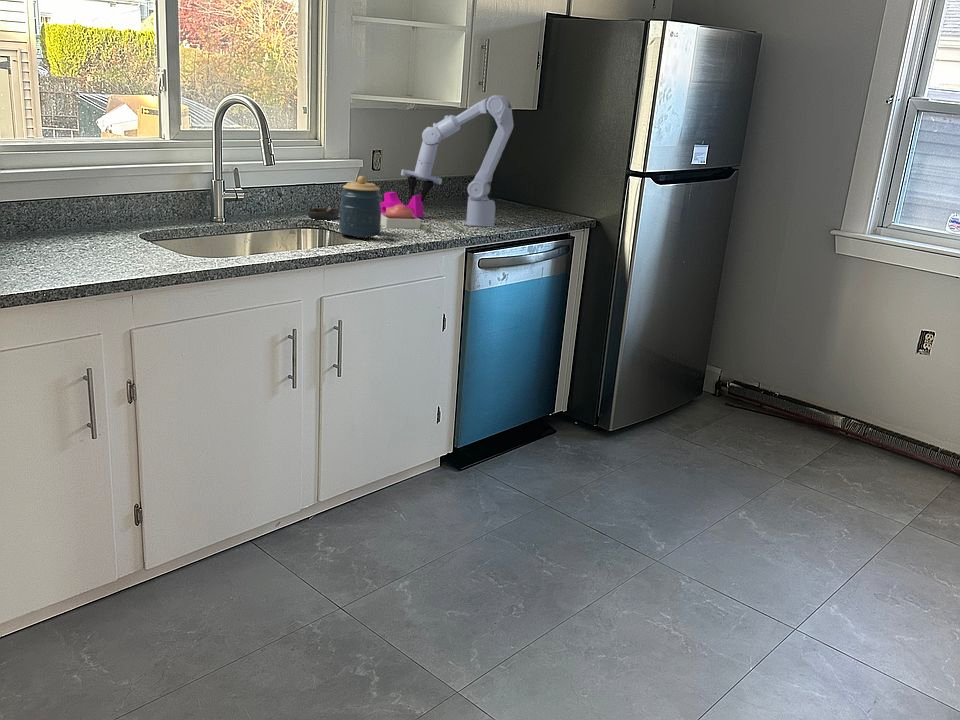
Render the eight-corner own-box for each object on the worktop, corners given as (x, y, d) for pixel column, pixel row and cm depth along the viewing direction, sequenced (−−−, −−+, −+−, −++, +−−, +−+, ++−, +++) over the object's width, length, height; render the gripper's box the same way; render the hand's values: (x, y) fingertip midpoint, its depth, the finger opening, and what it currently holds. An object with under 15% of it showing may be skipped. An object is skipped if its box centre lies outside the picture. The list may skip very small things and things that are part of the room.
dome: (408, 220, 300) (409, 203, 299) (415, 224, 292) (416, 206, 291) (382, 220, 297) (383, 202, 296) (389, 224, 289) (390, 206, 288)
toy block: (380, 214, 315) (379, 193, 313) (392, 212, 320) (391, 191, 317) (411, 218, 307) (410, 197, 304) (423, 216, 311) (422, 194, 309)
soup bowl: (349, 224, 307) (349, 203, 305) (340, 231, 292) (341, 208, 289) (306, 221, 307) (306, 200, 305) (296, 228, 292) (296, 205, 290)
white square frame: (410, 223, 302) (411, 214, 302) (420, 228, 292) (420, 219, 291) (377, 222, 298) (378, 213, 297) (386, 227, 288) (386, 218, 287)
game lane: (433, 217, 321) (433, 214, 321) (463, 232, 291) (464, 230, 291) (398, 216, 317) (398, 213, 317) (426, 231, 287) (426, 229, 286)
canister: (345, 237, 265) (347, 177, 260) (333, 230, 276) (335, 172, 271) (386, 237, 270) (389, 179, 265) (373, 230, 281) (375, 174, 276)
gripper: (441, 164, 311) (431, 201, 315) (402, 154, 305) (393, 192, 310) (447, 168, 305) (437, 206, 309) (408, 158, 299) (398, 197, 304)
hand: (415, 199), depth 309 cm, fingers closed on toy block, 4 cm apart
